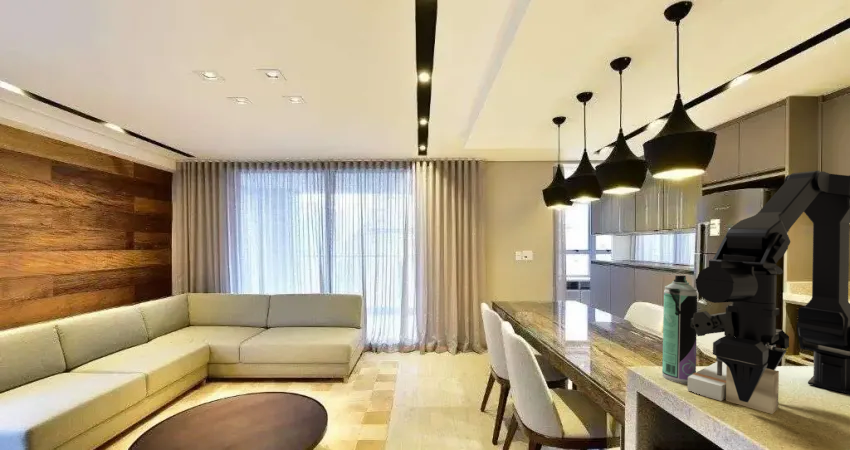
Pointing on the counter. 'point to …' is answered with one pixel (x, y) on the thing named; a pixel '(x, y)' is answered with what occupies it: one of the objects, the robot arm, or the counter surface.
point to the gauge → (763, 393)
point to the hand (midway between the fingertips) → (751, 394)
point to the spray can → (679, 331)
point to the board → (709, 382)
